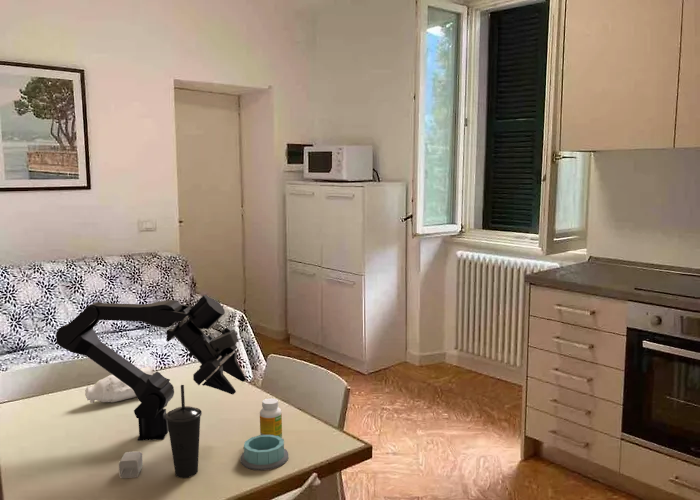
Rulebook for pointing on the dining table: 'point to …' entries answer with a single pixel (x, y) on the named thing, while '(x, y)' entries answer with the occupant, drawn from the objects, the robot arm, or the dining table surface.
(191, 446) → the drinking cup
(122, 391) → the white bottle
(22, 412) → the dining table surface
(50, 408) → the dining table surface
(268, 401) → the supplement bottle
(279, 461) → the teal round bowl
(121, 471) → the usb wall charger
